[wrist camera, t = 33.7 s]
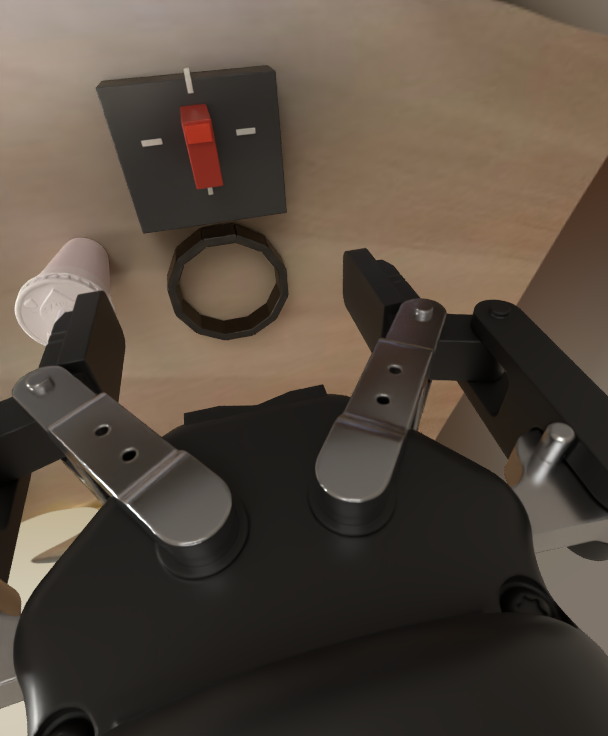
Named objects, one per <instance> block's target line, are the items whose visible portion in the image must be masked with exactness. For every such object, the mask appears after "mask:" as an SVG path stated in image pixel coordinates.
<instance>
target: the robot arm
mask: <svg viewBox="0 0 608 736" xmlns="http://www.w3.org/2000/svg"><path fill="white" fill-rule="evenodd" d="M343 298H344V303H345V306H346V308H347V310H348V312H349V313H350V315H351V317H352V319H353V320H354V322H355V324H356V326H357V327H358V329H359V331H360V333H361V334H362V336H363V338H364V340H365V342H366V343H367V345H368V347H369V349H370V350H371V352H372V354H371V356H370V358H369V360H368V363H367V365H366V367H365V369H364V371H363V373H362V375H361V377H360V379H359V381H358V383H357V385H356V388H355V390H354V392H353V394H352V396H351V397H348V396H344V395H337V394H327V393H326V390H325V388H324V385H318V386H313V387H309V388H304V389H299V390H294V391H290V392H287V393H285V394H283V395H280V396H278V397H275V398H273V399H271V400H268V401H266V402H264V403H261V404H259V405H253V406H217V407H212V408H208V409H203V410H198V411H193V412H188V413H184V425H181V426H179V427H177V428H175V429H173V430H172V431H170V432H169V433H167V434H165V435H164V436H163V437H161V436H159V435H158V434H157V433H156V432H154V431H153V430H152V429H151V428H149V427H148V426H147V425H146V424H144V423H143V422H142V421H141V420H139V419H138V418H137V417H136V416H134V415H133V414H132V413H131V412H129V411H128V410H127V409H125V408H124V407H123V406H122V405H120V404H119V403H118V401H119V393H120V385H121V378H122V370H123V362H124V354H125V338H124V334H123V331H122V328H121V326H120V324H119V321H118V319H117V317H116V314H115V312H114V310H113V308H112V305H111V303H110V301H109V298H108V296H107V294H106V293H105V292H104V291H103V290H101V291H95V292H89V293H83V294H78V295H77V298H76V301H75V305H74V308H73V311H69V312H65V313H64V314H63V315H62V316H61V317H60V318H59V319H58V320H57V321H56V322H55V323H54V326H53V329H52V331H51V335H50V337H49V340H48V344H47V345H46V348H45V351H44V354H43V357H42V359H41V362H40V365H39V368H38V369H36V370H33V371H31V372H29V373H28V374H26V375H25V376H23V377H22V378H21V379H20V380H18V381H17V383H16V384H15V385H14V387H13V389H12V397H10V398H8V399H6V400H3V401H1V402H0V709H1V708H4V707H6V706H9V705H12V704H15V703H18V702H21V701H23V700H24V702H25V707H26V715H27V729H28V736H608V656H607V655H606V654H605V652H604V651H603V650H602V649H601V648H600V647H599V646H598V645H597V644H596V643H595V642H594V641H593V640H592V639H591V638H590V637H589V636H588V635H586V634H585V633H584V632H583V631H582V630H581V629H579V628H578V626H577V625H576V624H575V623H574V622H573V621H572V620H571V619H570V618H569V617H568V616H567V615H566V614H565V613H564V612H563V610H562V609H561V608H560V607H559V606H558V605H557V603H556V602H555V601H554V599H553V598H552V596H551V595H550V593H549V591H548V590H547V588H546V586H545V583H544V581H543V578H542V576H541V573H540V571H539V567H538V564H537V561H536V557H535V553H539V552H544V551H548V550H553V549H558V548H563V547H567V548H569V549H570V550H571V551H573V552H574V553H576V554H577V555H579V556H581V557H583V558H586V559H590V560H594V561H603V560H608V396H607V395H606V394H605V393H604V392H603V391H602V390H601V389H600V388H599V387H598V386H597V385H596V384H595V383H594V382H593V381H592V380H591V379H590V378H589V377H588V376H587V375H586V374H585V373H584V372H583V371H582V370H581V369H580V368H579V367H578V366H577V365H576V364H575V363H574V362H573V361H572V360H571V359H570V358H569V357H568V356H567V355H566V354H565V353H564V352H563V351H562V350H561V349H560V348H559V347H558V346H557V345H556V344H555V343H554V342H553V341H552V340H551V339H550V338H549V337H548V336H547V335H546V334H545V333H544V332H543V331H542V330H541V329H540V328H539V327H538V326H537V325H536V324H535V323H534V322H533V321H532V320H531V319H530V318H529V317H528V316H527V315H526V314H525V313H524V312H523V311H522V310H521V309H520V308H518V307H517V306H515V305H514V304H512V303H509V302H506V301H501V300H485V301H482V302H480V303H478V304H477V305H476V306H475V308H474V312H473V315H464V314H447V313H446V310H445V308H444V307H443V306H442V305H441V304H439V303H438V302H436V301H433V300H429V299H423V298H420V297H419V296H418V295H417V293H416V292H415V291H414V290H413V289H412V287H411V286H410V285H409V284H408V283H407V281H405V279H404V278H403V277H402V275H400V273H399V272H398V271H397V269H396V268H395V267H394V266H393V265H391V264H389V263H388V262H386V261H384V260H375V258H374V257H373V256H372V255H371V253H370V252H369V251H368V250H367V249H366V248H363V249H356V250H350V251H345V252H344V255H343ZM505 371H506V372H505ZM432 380H452V381H457V382H458V384H459V385H460V387H461V388H462V390H463V391H464V393H465V394H466V396H467V397H468V399H469V400H470V402H471V403H472V405H473V407H474V408H475V410H476V411H477V413H478V414H479V416H480V417H481V419H482V420H483V422H484V423H485V425H486V427H487V428H488V430H489V431H490V432H491V434H492V436H493V437H494V439H495V440H496V442H497V443H498V445H499V447H500V448H501V449H502V451H503V453H504V454H505V456H506V457H507V459H508V461H507V463H506V465H505V468H504V476H505V479H506V481H507V483H506V482H505V481H504V480H502V479H501V478H500V477H499V476H497V475H496V474H495V473H493V472H491V471H490V470H488V469H486V468H484V467H482V466H480V465H479V464H477V463H475V462H473V461H472V460H470V459H468V458H466V457H464V456H462V455H460V454H459V453H457V452H455V451H453V450H451V449H449V448H448V447H446V446H444V445H442V444H440V443H438V442H436V441H435V440H433V439H431V438H429V437H427V436H425V435H424V434H422V433H420V432H418V431H417V430H418V426H419V423H420V419H421V416H422V412H423V409H424V406H425V402H426V399H427V396H428V392H429V389H430V386H431V382H432ZM59 459H61V461H62V462H63V463H64V464H65V465H66V466H67V467H68V468H69V469H70V470H71V471H72V472H73V473H74V474H75V476H76V477H77V478H78V479H79V480H80V481H81V482H82V483H83V484H84V485H85V486H86V487H87V488H88V489H89V490H90V491H91V492H92V493H93V494H94V496H95V497H96V498H97V499H98V500H99V501H100V503H101V504H102V505H103V506H102V507H101V508H100V510H99V511H98V512H97V513H96V515H95V516H94V517H93V518H92V520H91V521H90V522H89V523H88V524H87V526H86V527H85V528H84V529H83V530H82V532H81V533H80V534H79V535H78V537H77V538H76V539H75V540H74V541H73V543H72V544H71V545H70V546H69V548H68V549H67V550H66V551H65V552H64V554H63V555H62V556H61V557H60V558H59V560H58V561H57V562H56V563H55V565H54V566H53V567H52V568H51V569H50V571H49V572H48V573H47V574H46V576H45V577H44V578H43V579H42V580H41V582H40V583H39V584H38V586H37V587H36V588H35V590H34V591H33V593H32V595H31V596H30V598H29V599H28V601H27V603H26V605H25V607H24V609H23V611H22V613H21V598H20V596H19V593H18V592H17V591H16V590H15V589H13V588H12V587H11V586H9V585H8V584H7V583H8V578H9V574H10V569H11V565H12V560H13V555H14V551H15V546H16V542H17V537H18V532H19V527H20V523H21V519H22V514H23V510H24V505H25V500H26V496H27V491H28V487H29V482H30V477H31V472H33V471H35V470H38V469H40V468H42V467H44V466H46V465H48V464H51V463H53V462H55V461H57V460H59Z"/></svg>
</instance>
